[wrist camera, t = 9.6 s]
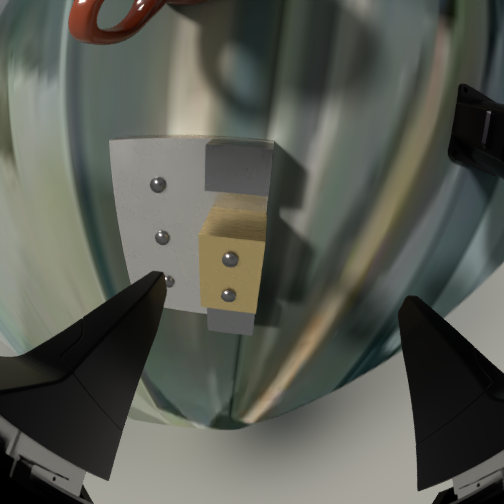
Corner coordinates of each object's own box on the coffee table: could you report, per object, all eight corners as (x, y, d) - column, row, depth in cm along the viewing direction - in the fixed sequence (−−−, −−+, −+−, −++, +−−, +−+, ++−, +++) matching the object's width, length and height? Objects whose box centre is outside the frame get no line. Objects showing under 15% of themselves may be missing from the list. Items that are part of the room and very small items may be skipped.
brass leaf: (267, 213, 19) (265, 243, 16) (258, 278, 23) (255, 315, 19) (211, 207, 20) (197, 236, 16) (211, 273, 23) (200, 308, 19)
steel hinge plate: (273, 140, 18) (273, 149, 15) (254, 310, 26) (252, 335, 24) (117, 137, 18) (94, 146, 15) (139, 294, 27) (128, 316, 24)
